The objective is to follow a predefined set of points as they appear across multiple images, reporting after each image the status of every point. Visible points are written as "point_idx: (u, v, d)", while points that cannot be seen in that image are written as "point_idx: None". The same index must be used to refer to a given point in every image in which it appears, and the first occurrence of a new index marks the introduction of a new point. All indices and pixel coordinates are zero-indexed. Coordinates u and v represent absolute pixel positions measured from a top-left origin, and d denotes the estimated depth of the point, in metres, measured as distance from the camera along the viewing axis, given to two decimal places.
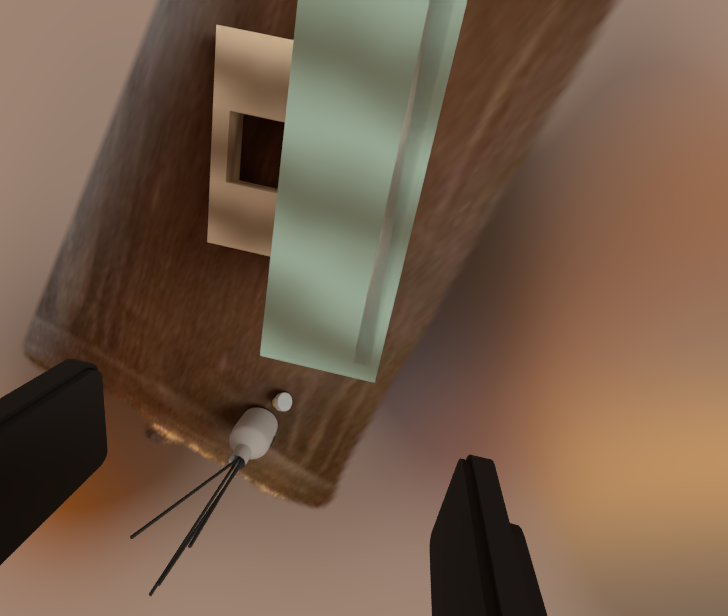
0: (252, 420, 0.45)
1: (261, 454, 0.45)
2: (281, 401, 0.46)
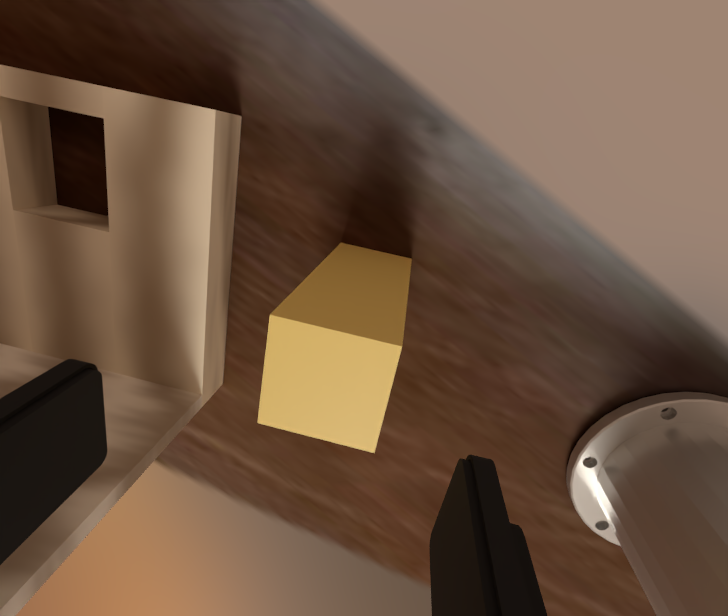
0: None
1: None
2: None
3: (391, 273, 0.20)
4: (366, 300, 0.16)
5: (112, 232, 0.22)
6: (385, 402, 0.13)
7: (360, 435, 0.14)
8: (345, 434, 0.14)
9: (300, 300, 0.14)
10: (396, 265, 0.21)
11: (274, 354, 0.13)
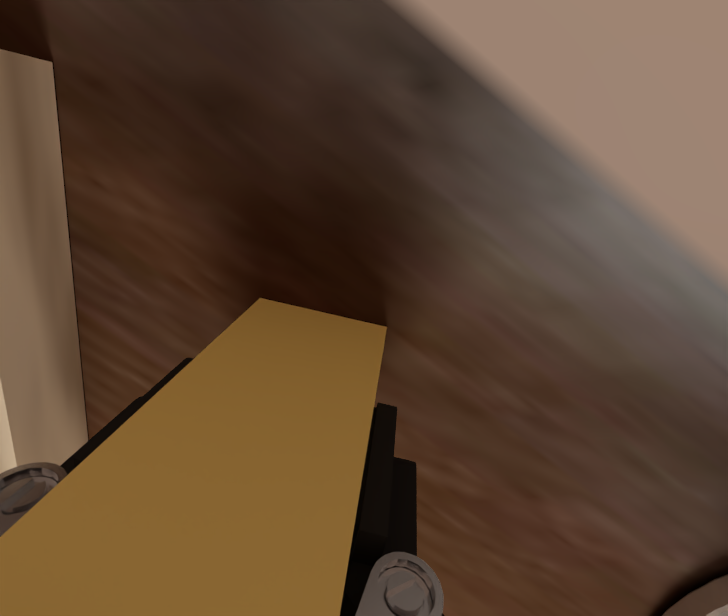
0: None
1: None
2: None
3: (336, 387, 0.09)
4: (223, 565, 0.05)
5: None
6: None
7: None
8: None
9: None
10: (353, 354, 0.11)
11: None
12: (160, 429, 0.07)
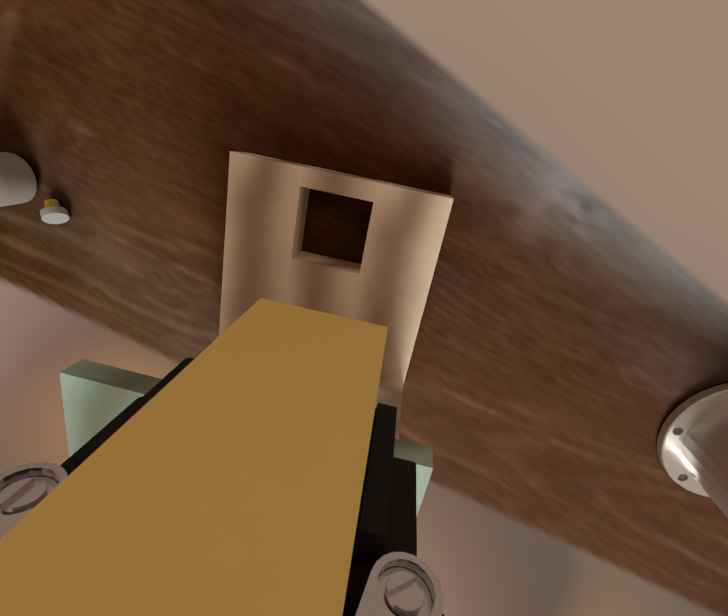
0: (10, 184, 0.34)
1: None
2: (54, 215, 0.37)
3: (337, 388, 0.09)
4: (224, 566, 0.05)
5: (361, 274, 0.33)
6: None
7: None
8: None
9: None
10: (354, 355, 0.11)
11: None
12: (160, 430, 0.07)
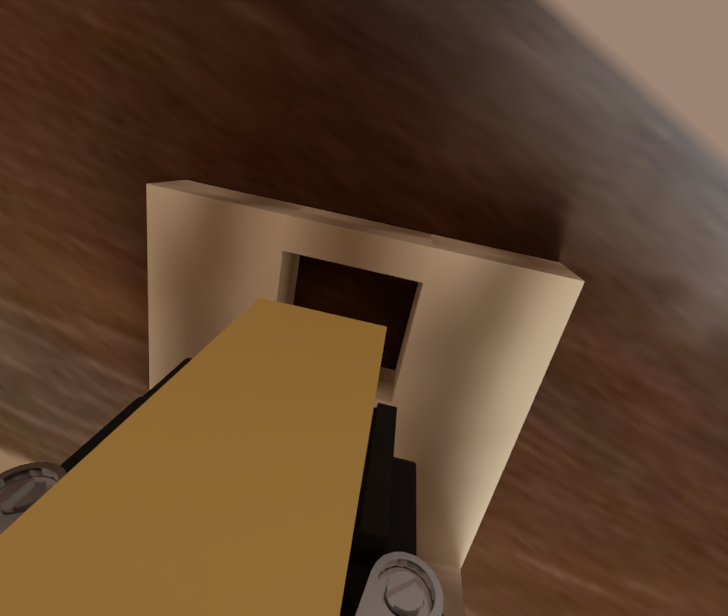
0: None
1: None
2: None
3: (336, 387, 0.09)
4: (222, 567, 0.05)
5: (395, 403, 0.18)
6: None
7: None
8: None
9: None
10: (353, 354, 0.11)
11: None
12: (158, 430, 0.07)
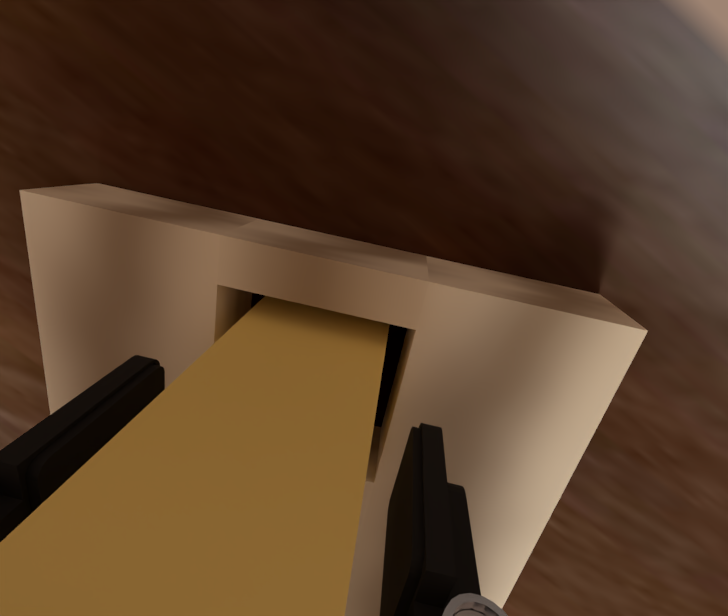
0: None
1: None
2: None
3: (349, 358, 0.11)
4: (267, 479, 0.07)
5: (379, 483, 0.14)
6: None
7: None
8: None
9: (58, 531, 0.05)
10: (362, 333, 0.12)
11: None
12: (204, 385, 0.08)
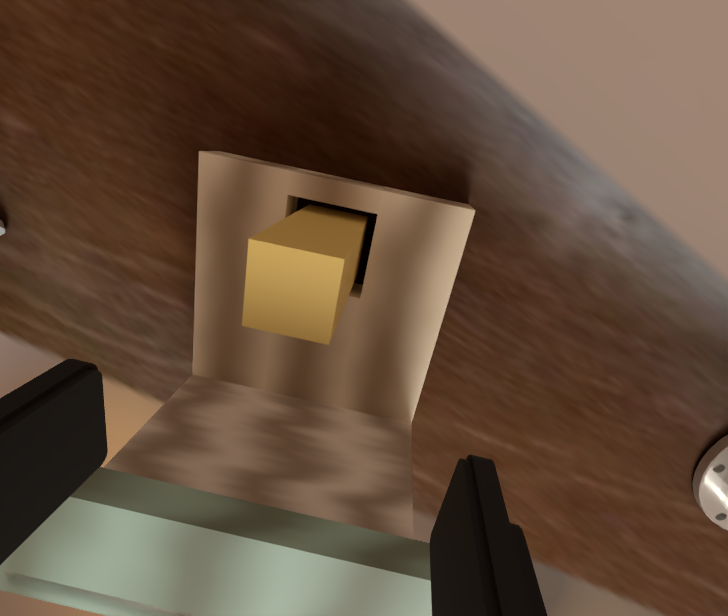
0: None
1: None
2: None
3: (348, 224, 0.25)
4: (323, 236, 0.21)
5: (362, 298, 0.28)
6: (335, 303, 0.18)
7: (318, 330, 0.19)
8: (306, 330, 0.19)
9: (272, 233, 0.19)
10: (353, 219, 0.26)
11: (252, 269, 0.18)
12: (294, 221, 0.22)
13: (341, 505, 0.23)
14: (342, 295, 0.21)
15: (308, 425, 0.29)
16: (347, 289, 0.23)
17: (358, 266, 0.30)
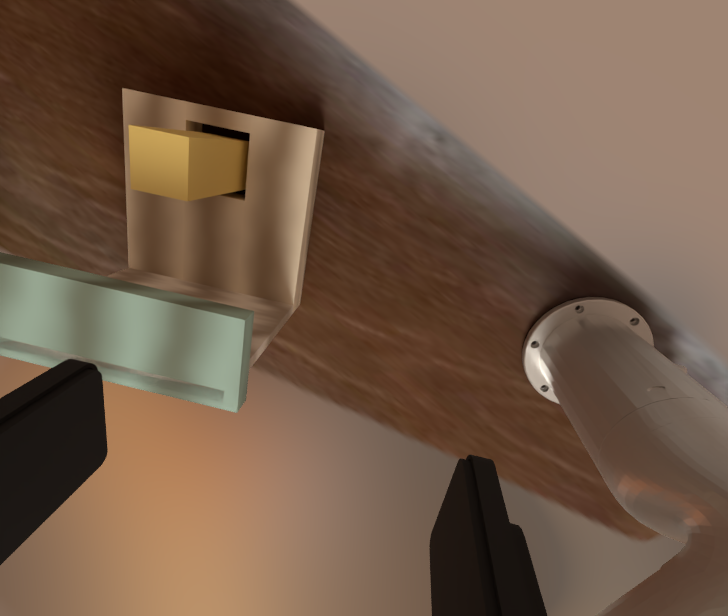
0: None
1: None
2: None
3: (226, 138, 0.35)
4: (191, 134, 0.30)
5: (246, 201, 0.37)
6: (187, 169, 0.28)
7: (179, 190, 0.29)
8: (172, 191, 0.29)
9: (151, 127, 0.29)
10: (236, 139, 0.36)
11: (133, 146, 0.28)
12: (179, 130, 0.32)
13: None
14: (203, 174, 0.30)
15: (208, 298, 0.38)
16: (219, 180, 0.33)
17: None
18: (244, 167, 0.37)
